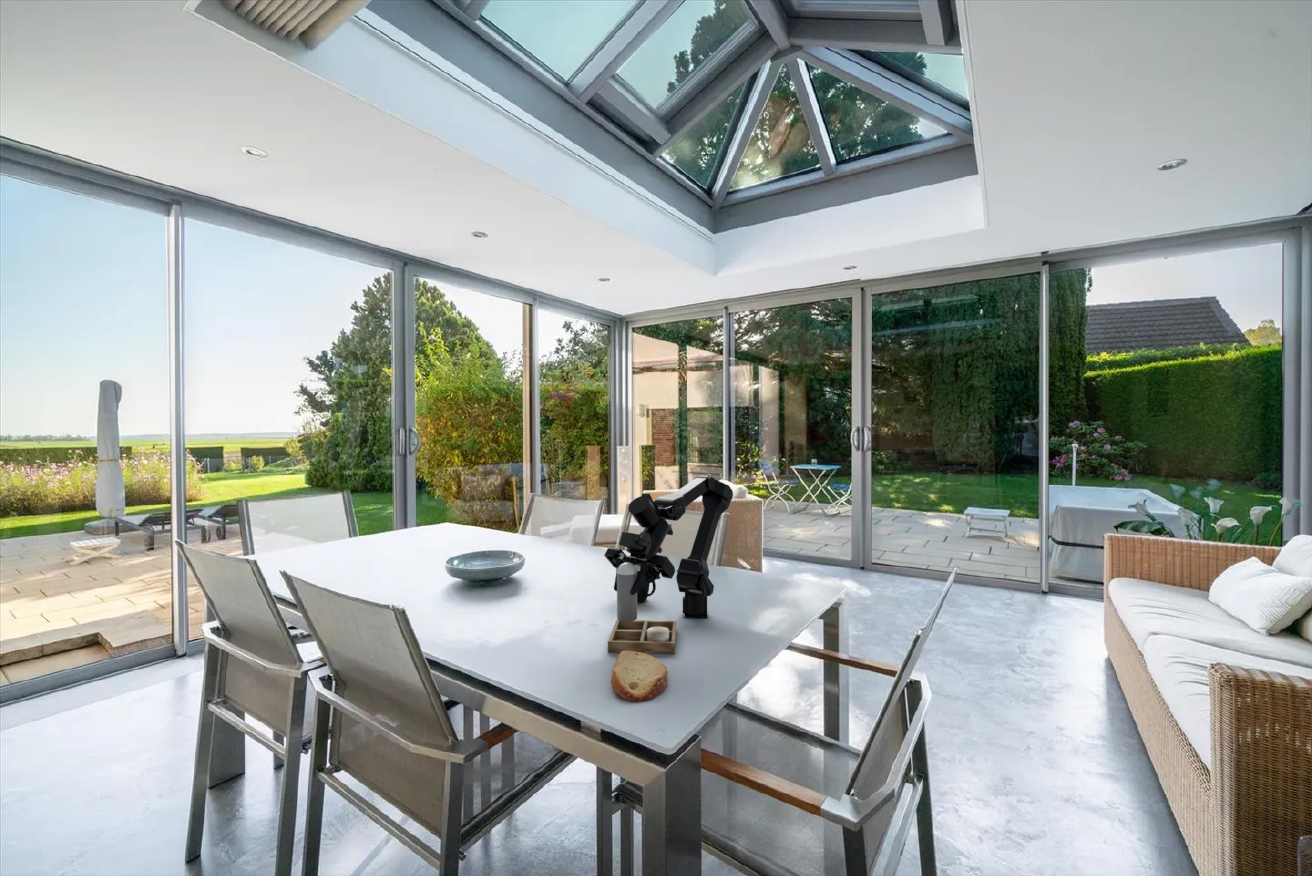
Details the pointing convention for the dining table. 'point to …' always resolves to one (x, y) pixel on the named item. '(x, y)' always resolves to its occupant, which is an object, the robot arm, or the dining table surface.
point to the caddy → (643, 637)
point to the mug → (644, 589)
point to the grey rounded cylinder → (626, 592)
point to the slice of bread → (638, 676)
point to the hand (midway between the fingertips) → (623, 592)
